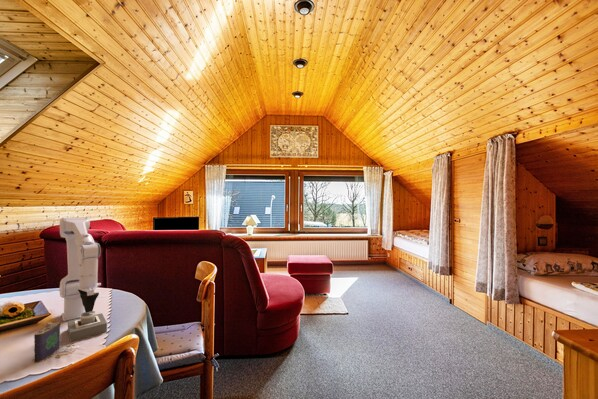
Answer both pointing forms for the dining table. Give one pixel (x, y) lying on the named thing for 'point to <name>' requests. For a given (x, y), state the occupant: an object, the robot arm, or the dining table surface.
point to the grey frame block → (86, 328)
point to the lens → (87, 318)
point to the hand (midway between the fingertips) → (87, 308)
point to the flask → (46, 341)
